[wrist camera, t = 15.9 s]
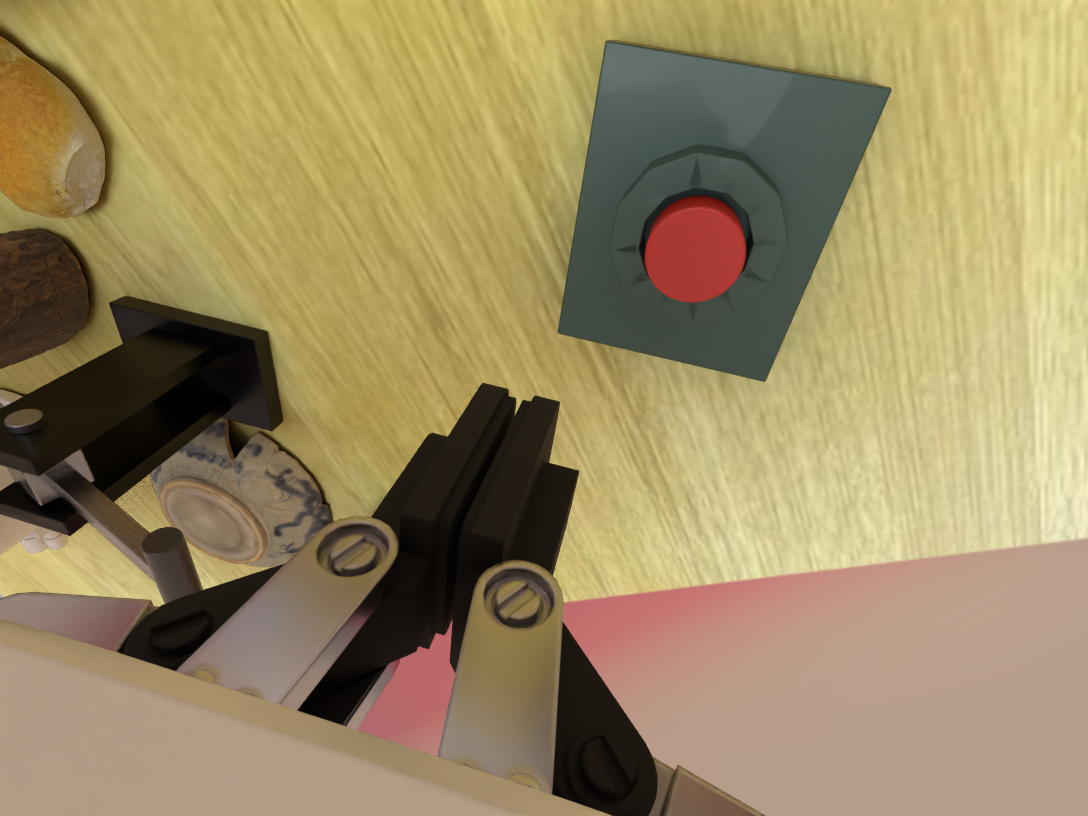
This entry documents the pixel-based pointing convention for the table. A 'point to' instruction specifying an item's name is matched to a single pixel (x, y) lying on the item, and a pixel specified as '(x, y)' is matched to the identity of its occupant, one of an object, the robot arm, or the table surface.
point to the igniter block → (716, 171)
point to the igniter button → (695, 249)
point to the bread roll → (45, 141)
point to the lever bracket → (136, 404)
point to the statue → (38, 295)
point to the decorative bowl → (240, 499)
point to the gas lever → (117, 525)
